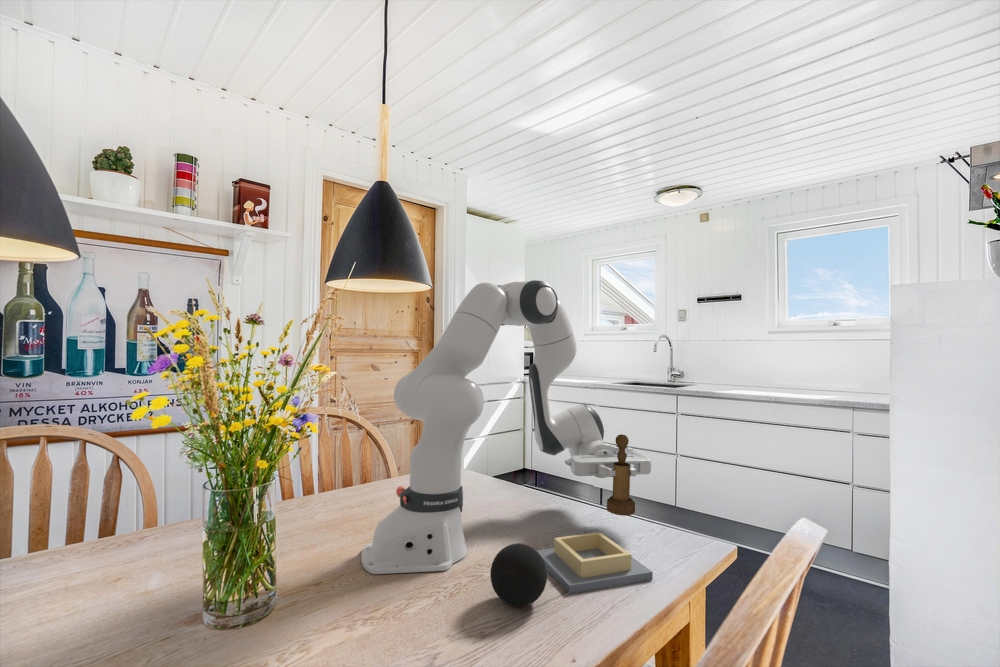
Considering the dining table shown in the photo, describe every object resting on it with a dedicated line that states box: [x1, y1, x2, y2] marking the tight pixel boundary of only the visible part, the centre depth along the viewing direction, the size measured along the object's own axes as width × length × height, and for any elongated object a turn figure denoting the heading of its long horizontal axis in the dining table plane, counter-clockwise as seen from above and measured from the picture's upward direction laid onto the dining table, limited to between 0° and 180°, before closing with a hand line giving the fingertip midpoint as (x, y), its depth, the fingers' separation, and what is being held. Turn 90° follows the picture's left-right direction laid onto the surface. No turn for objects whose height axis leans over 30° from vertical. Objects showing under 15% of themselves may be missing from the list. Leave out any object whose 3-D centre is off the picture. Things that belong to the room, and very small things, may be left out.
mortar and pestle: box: [606, 434, 636, 516], centre depth 117 cm, size 7×6×18 cm
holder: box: [535, 531, 654, 595], centre depth 100 cm, size 18×16×4 cm
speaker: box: [490, 542, 548, 607], centre depth 87 cm, size 10×10×10 cm
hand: (623, 473), depth 116 cm, fingers closed on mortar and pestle, 4 cm apart
